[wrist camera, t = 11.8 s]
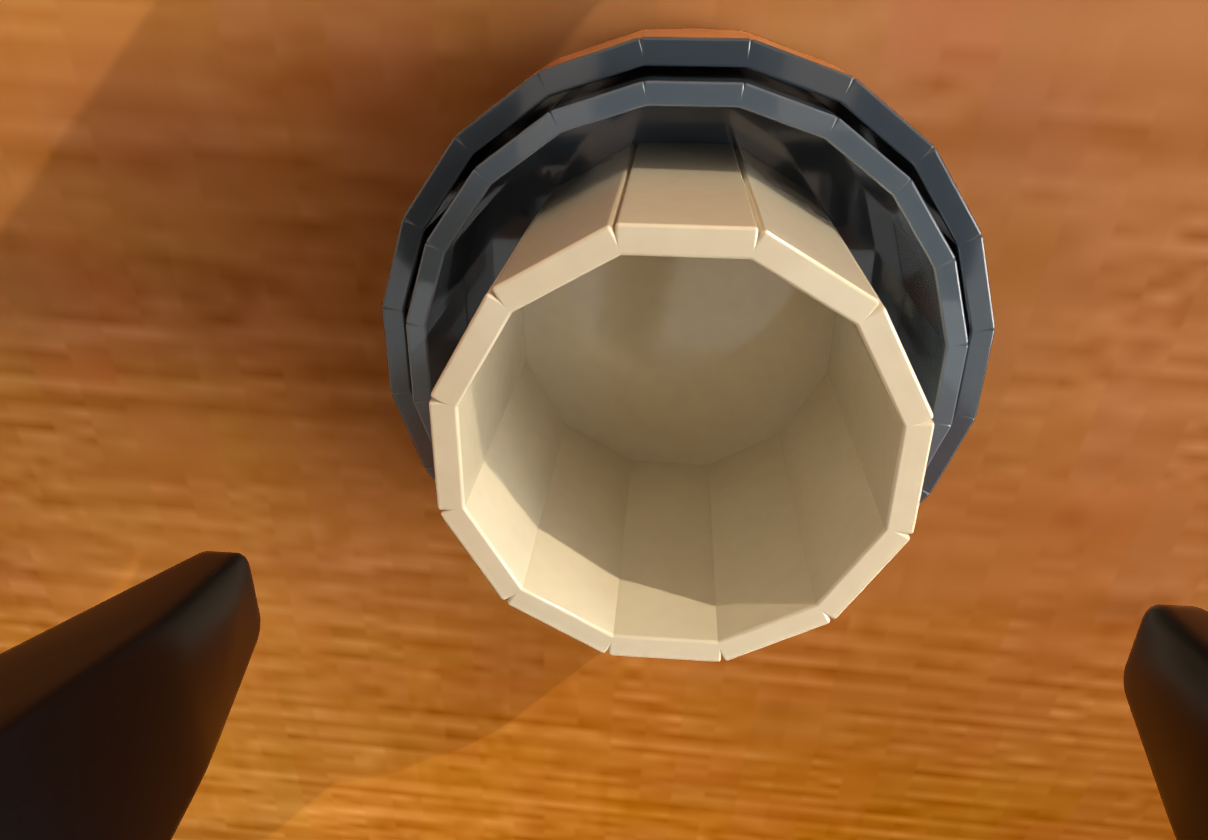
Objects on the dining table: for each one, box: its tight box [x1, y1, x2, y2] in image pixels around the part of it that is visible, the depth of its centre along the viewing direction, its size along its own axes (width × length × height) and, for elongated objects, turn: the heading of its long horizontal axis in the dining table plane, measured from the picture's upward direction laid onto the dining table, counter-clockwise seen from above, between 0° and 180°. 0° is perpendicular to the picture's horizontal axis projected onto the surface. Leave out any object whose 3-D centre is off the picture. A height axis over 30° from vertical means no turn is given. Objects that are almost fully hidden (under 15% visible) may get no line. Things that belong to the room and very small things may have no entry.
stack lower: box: [382, 28, 995, 504], centre depth 16 cm, size 10×10×3 cm
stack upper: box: [406, 66, 968, 468], centre depth 16 cm, size 9×9×4 cm
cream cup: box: [429, 142, 935, 662], centre depth 15 cm, size 7×7×6 cm
